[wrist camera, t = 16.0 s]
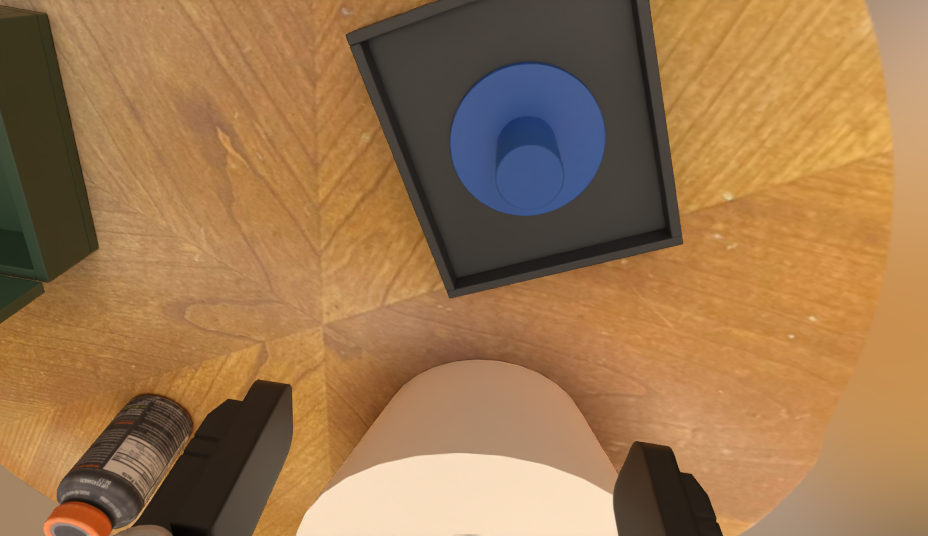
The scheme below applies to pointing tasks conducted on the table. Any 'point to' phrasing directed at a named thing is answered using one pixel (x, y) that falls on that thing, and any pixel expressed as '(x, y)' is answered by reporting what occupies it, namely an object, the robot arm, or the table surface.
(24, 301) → the chest lid
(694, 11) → the table surface
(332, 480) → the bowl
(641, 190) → the tray
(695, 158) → the table surface
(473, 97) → the blue lid
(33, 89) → the green chest
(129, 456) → the pill bottle
